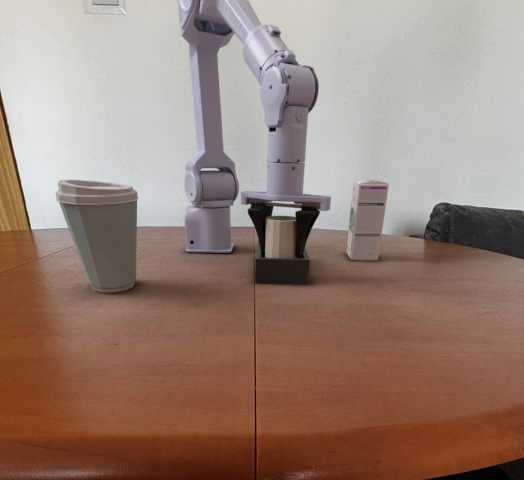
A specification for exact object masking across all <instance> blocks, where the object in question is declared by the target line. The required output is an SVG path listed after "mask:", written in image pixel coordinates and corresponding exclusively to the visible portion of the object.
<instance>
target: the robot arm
mask: <svg viewBox="0 0 524 480" xmlns="http://www.w3.org/2000/svg"><path fill="white" fill-rule="evenodd" d="M177 9H178V20H179V27H180V36H181V37H182V38H183V39H184V40H185V41H186V42H187V51H188V61H189V62H188V64H189V74H190V84H191V94H192V105H193V106H192V107H193V119H194V128H195V141H196V150H197V152H195V154H194V155H192V156H191V158H190V159H189V160H188V161H187V162H186V163H185V165H184V166H185V168H184V169H185V171H184V173H185V174H184V175H185V177H184V192H185V195H186V198H187V200H188V201H189V202H190V204H191V205H186V206H185V208H184V215H183V216H184V220H183V221H184V232H185V233H184V234H185V247H186V249H185V252H186V253H208V254H210V253H213V254H221V253H222V254H231V253H232V251H233V249H234V247H235V242H232V231H231V230H232V229H231V228H232V226H231V222H232V221H231V207H233V206H234V202H235V201H236V200H237V198H238V196H239V193H240V205H244V206H247V205H248V206H249V205H250V207H249V208H247V214H248V216H249V218H250V220H251V222H252V224H253V227H254V229H255V233H256V236H257V241H258V240H259V244H260V249H261V252H265V241H266V217H268V216H273V211H274V207H278V208H292V209H299V210H296V211H295V214H294V216H295V217H296V228H297V238H296V248H295V256H298V257H300V256H301V255H303V253H304V249H306V246H307V243H308V239H309V236H310V234H311V231H312V229H313V227H314V225H315V223H316V221H317V220H318V218H319V216H320V214H321V211H322V212H327V211H330V210H331V204H332V196H330V195H317V194H311V193H304V183H305V167H306V154H307V153H306V151H307V137H308V134H307V133H308V121H309V114H310V113H311V111H313V109H314V107H315V106H316V104H317V101H318V97H319V90H320V83H319V78H318V75H317V73H316V71H315V68H314V67H312V66H311V65H306V64H304V65H302V64H300V63H299V62H298V60H297V59H296V57H297V55H296V54H295V52H294V51H293V50H290V49H289V47H288V46H287V45H286V43H285V41H284V40H283V39H282V37H281V34H282V30H280V28H279V27H278V26H277V25H273V24H262V23H261V21H260V19H259V17H258V15H257V14H256V12H255V10H254V8H253V6H252V4H251V2H250V1H249V0H177ZM234 35H235V36H236V37H237V38H238V40H239V41H240V42H241V44H242V45H243V47H242V56H243V61H244V62H245V64H246V65H247V67H248V68H249V70H250V71H251V73H252V75H253V76H254V78H255V79H256V81H257V82H258V84H259V86H260V87H261V88H260V89H259V98H260V102H261V103H260V104H261V106H262V108H263V112H264V123H265V126H266V127H267V151H266V152H267V153H266V156H267V159H266V189H265V190H266V191H257V190H256V191H255V190H253V191H252V190H243V191H240V182H239V178H238V175H237V171H236V163H235V162H234V161H233V160H232V159H231V158H230V157H229V156H228V154H227V153H226V152H225V151H224V138H223V137H224V135H223V120H222V119H223V118H222V105H221V104H222V103H221V92H220V91H221V90H220V89H221V88H220V76H219V60H218V54H219V51H220V49H221V48H224V47H226V46H228V45H229V44H230V41H231V40H232V38H233V36H234ZM202 169H214V170H202ZM216 169H217V170H216ZM285 202H286V203H285Z"/></svg>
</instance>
